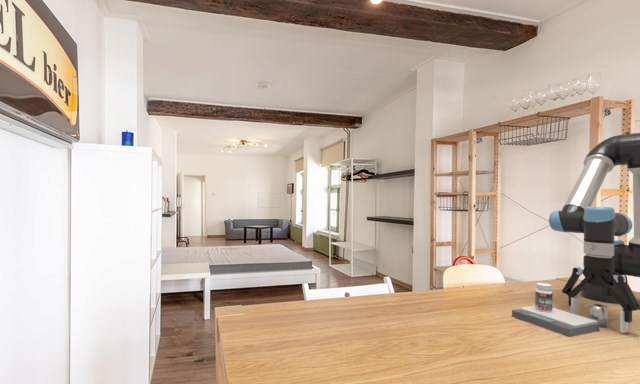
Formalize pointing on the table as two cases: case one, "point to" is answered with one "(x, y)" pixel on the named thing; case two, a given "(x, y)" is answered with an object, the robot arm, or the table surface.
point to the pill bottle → (543, 297)
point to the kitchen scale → (557, 321)
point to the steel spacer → (598, 314)
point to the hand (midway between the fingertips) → (597, 324)
